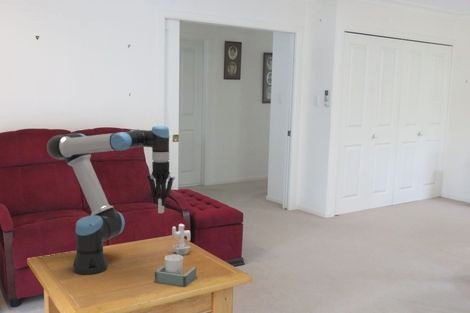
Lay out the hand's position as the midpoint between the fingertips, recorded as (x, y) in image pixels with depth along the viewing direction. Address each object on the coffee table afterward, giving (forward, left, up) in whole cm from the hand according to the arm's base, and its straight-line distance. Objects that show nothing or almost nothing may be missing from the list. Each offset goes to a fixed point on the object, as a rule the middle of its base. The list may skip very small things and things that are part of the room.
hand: (161, 212), depth 216 cm
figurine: (0, +22, -27) cm, 34 cm away
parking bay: (+12, -9, -26) cm, 30 cm away
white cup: (+11, -10, -27) cm, 31 cm away
